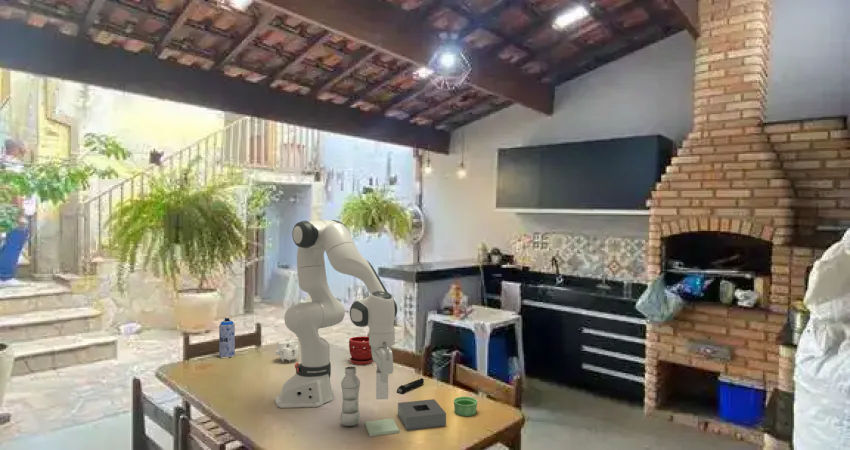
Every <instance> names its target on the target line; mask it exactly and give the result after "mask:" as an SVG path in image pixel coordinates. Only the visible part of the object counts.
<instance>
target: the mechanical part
mask: <svg viewBox="0 0 850 450" xmlns="http://www.w3.org/2000/svg"><path fill="white" fill-rule="evenodd" d="M275 355H277V356H279V359H281V361H282V363H284V362H285V360H287V361H288V362H289V363H291V361H294V360H296V359H298V358H299V356H300V355H301V346H300V345H299V339H294V337H293V336H290V337H287V338H286V337H285V339H284V340H282V341H279V342H277V348H276V350H275Z"/></svg>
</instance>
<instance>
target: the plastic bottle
mask: <svg viewBox="0 0 850 450" xmlns="http://www.w3.org/2000/svg"><path fill="white" fill-rule="evenodd" d="M344 369H345V370H344V374H345V375H344V377H343V378H342V380H341V382H340V387H341V393H342V397H341V398H342V406H341V413H340V422H341V424H342V425H343V426H345V427H353V426H357V425H358V424H359V422H360V419H361V416H360V414H361V413H360V410H359V409H360V408H359V396H360V395H359V394H360V387H361V382H360V379H359V377H358V376H357V375H356V374H357V368H356V366H346V367H345V368H344Z"/></svg>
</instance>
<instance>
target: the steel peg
mask: <svg viewBox="0 0 850 450" xmlns="http://www.w3.org/2000/svg"><path fill="white" fill-rule="evenodd" d="M375 394H376V395H375V399H376V400H388V399H389V374H388V375H387V382H386V383H382V382H381V371H380V370H377V369H376V373H375Z"/></svg>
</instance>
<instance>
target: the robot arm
mask: <svg viewBox="0 0 850 450" xmlns="http://www.w3.org/2000/svg"><path fill="white" fill-rule="evenodd" d="M291 233H292V234H291V235H292V240H293V243H294V244H295V245H296V246H297V251H296V270H297V279H298V281H297V282H298V288H299V289H300V290H301V291H303V292H304V293H307V294H308V295H309V296H310V299H311V301H309V302H307V301H306V302H301V303H297V304H295V305H291V306H289V307H288V308H287V309H286V311H285V313H284V324H285V326H286V328H287V329H288V330H289V331H290V332H292V333H293V334H294V335H295V336H296V338H297V340H298V343H299V346H300V357H301V361H300V362H301V363H299V362H296V363H295V364H294V369H295V374H294V375H292V377H290V378H288V380H286V381H285V382H284V383H283V386H282V388H281V391H280V393H278V394H277V395H276V396H275V403H274V404H275V405H276V407H278V408H281V409H283V408H284V409H286V408H287V409H288V408H289V409H291V408H293V409H294V408H317V407H321V406H322V405H323V404H326V403H328V402H331V401H332V400H333V399H334V397H335V396H334V393H333V389H332V383H331V374H332V365H331V361H330V355H331V354H330V349H331V348H330V343H329V342H328V341H327V340H326V338H323V337H322V336H321V337H320V334H319V329H323V328H329V327H334V326H335V325H337V324H340V323H341V322H343V320H344V318H345V314H346V309H345V305H343V303H342V302H341V301H340V300H338V299H337V298H336V297H335V296H334V294H333V293H332V291H331V289H330V287H329V285H328V280H327V279H328V278H327V272H326V271H327V270H326V263H325V254H326V256H327V259H328V261H329V264H330V265H331V267H332V268H333V269H334V270H335V271H337V272H339V273H341V274H343V275H347V276H350V277H351V276H352V277H354V278H357V279H359V280H360V281H362V283H364V285H365V287H366V288H367V290H368V292H369V296H366V297H365V298H362V299H358V300H355V301H354V302H353V303H352V304H351V306H350V308H349V318H350V321H351V323H352V324H354V326H356V327H360V328H364V327H365V328H366V327H368V329H369V330H368V337H369V345H370V346H371V354H372V359H373V362H374V363H375V366H376V370H380V371H381V382H382V383H386V382H387V375H388V376H389V375H390V374H393V372H394V357H393V350H392V347H393V346H395V344H396V336H395V335H396V332H395V331H396V329H395V320H396V317H397V314H398V305H397V302H396V300H395V299H394V297H393V294H391V293H390V292H389V291H388V290H387V288H386V287H385V285H384V283H383V282H382V280H381V278H380V277H379V275H378V273H377V271H376V270H375V268H374V266H373V265H372V263H370V262H369V260H367V259H366V258H365V257H364V256H363V255H362V254H361V253H360V251H359V250H358V248H357V246H356V244H355V242H354V239H353V238H352V235H351V234H350V232H349V230H348V229H347V227H346V226H345V224H344V223H343V222H341V221H339V220H335V219H331V220H330V219H316V220H301V221H299V222H297V223H295V225H294V227H293V229H292V232H291Z"/></svg>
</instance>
